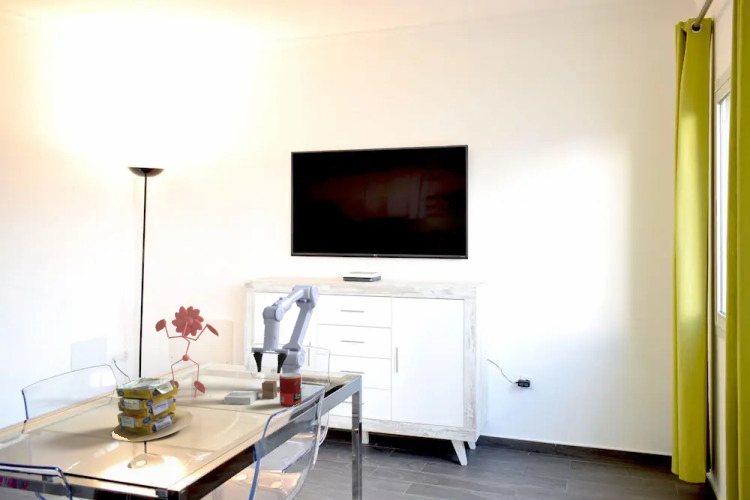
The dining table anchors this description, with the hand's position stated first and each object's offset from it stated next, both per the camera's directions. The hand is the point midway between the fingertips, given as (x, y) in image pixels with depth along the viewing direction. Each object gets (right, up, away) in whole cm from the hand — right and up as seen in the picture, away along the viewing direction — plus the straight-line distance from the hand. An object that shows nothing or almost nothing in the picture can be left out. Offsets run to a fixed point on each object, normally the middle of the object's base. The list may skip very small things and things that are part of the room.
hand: (268, 372), depth 246 cm
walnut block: (0, -10, +1) cm, 10 cm away
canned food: (+10, -10, -10) cm, 17 cm away
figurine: (-33, -10, +9) cm, 36 cm away
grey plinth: (-10, -10, -4) cm, 14 cm away
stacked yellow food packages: (-31, -11, -41) cm, 52 cm away
